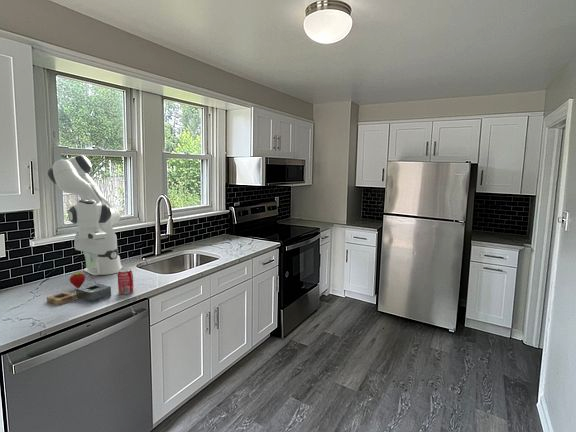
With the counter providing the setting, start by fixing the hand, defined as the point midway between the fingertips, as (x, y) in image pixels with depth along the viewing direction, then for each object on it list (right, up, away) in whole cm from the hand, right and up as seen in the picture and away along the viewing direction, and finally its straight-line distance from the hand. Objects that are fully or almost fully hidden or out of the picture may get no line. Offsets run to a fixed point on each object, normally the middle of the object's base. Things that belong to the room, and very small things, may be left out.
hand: (91, 260), depth 162 cm
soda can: (+12, -18, +10) cm, 24 cm away
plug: (0, -4, 0) cm, 4 cm away
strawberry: (-15, -17, +15) cm, 27 cm away
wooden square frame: (-13, -19, -2) cm, 23 cm away
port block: (0, -19, +3) cm, 19 cm away
